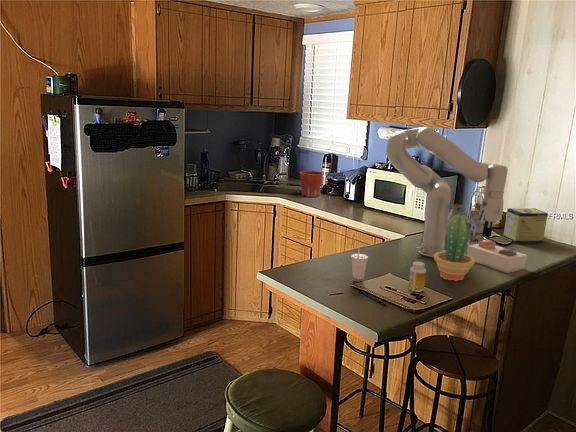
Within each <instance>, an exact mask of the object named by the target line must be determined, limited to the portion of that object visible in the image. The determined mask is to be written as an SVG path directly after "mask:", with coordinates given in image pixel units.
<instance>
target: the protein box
mask: <svg viewBox="0 0 576 432" xmlns="http://www.w3.org/2000/svg"><path fill="white" fill-rule="evenodd" d="M548 215H549V214H548V212H545V211H543V210H540V209H537V208H533V207H531V208H525V207H524V208H522V207H521V208H517V207H512V208H507V210H506V217H505V224H504V230H503V237H506V238H508V239H510V240H512V241H513V242H512V243H513V244H543V243H544V239H545V233H546V232H545V231H546V227H547V219H548Z"/></svg>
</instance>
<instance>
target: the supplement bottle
mask: <svg viewBox="0 0 576 432" xmlns="http://www.w3.org/2000/svg"><path fill="white" fill-rule="evenodd" d="M426 275H427V269H426V268H425V263H424V262H422V261H413V263H412V266H411V267H410V268H409V276H408V288H409V287H410V288H411V289H414V290H424V291H425V286H426V285H425V284H426V278H427V277H426Z"/></svg>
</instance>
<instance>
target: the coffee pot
mask: <svg viewBox="0 0 576 432" xmlns="http://www.w3.org/2000/svg"><path fill="white" fill-rule="evenodd" d="M450 207H451V209H450V210H449V212H448V221H447V223H448V222H449V220H450V219H451V218H452V217H453V216H455V215H458V214H459V215H460V216H462V215H464V212H463V208H464V205H463V204H459V203H451V204H450Z"/></svg>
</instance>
